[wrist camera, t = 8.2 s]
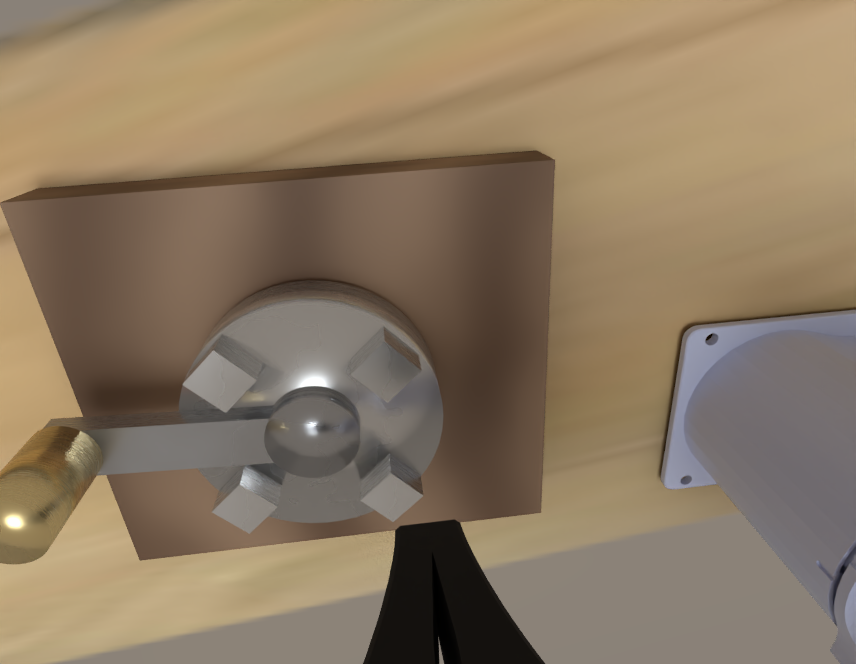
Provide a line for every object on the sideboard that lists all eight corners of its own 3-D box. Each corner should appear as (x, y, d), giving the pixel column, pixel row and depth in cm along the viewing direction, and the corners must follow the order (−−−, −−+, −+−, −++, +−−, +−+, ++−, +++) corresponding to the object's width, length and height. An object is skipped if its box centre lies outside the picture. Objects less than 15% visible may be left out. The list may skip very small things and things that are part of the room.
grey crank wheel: (435, 274, 18) (464, 360, 13) (436, 475, 21) (459, 605, 16) (35, 292, 17) (-111, 393, 12) (104, 499, 20) (15, 648, 15)
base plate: (536, 150, 19) (556, 160, 17) (528, 480, 25) (541, 514, 23) (36, 188, 18) (-3, 203, 16) (156, 523, 24) (138, 562, 22)
